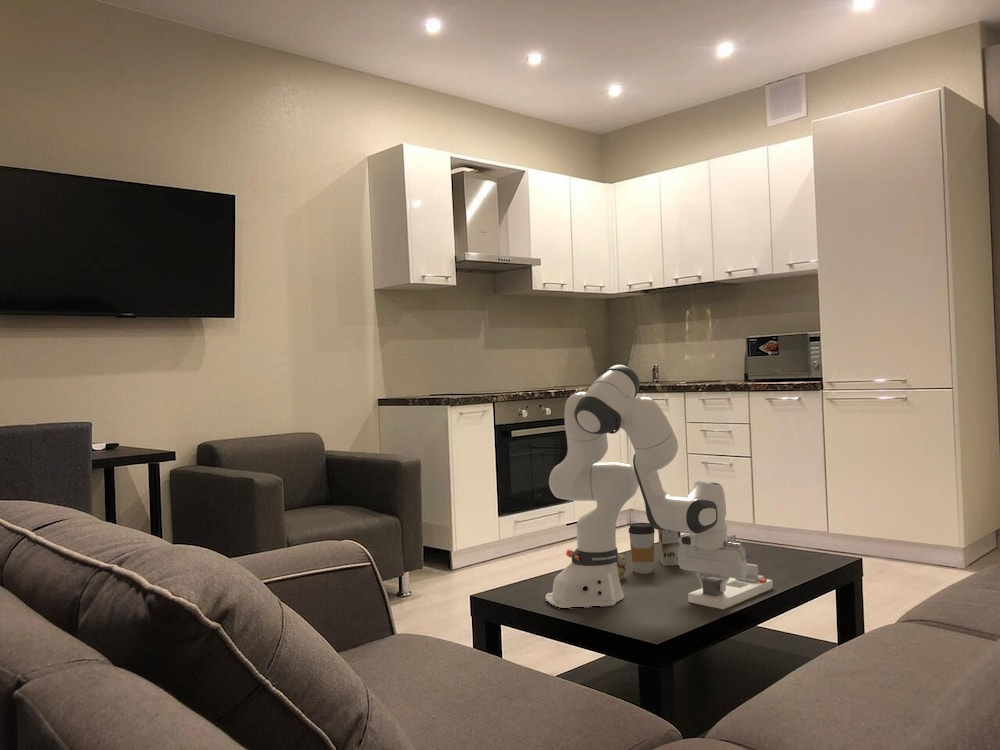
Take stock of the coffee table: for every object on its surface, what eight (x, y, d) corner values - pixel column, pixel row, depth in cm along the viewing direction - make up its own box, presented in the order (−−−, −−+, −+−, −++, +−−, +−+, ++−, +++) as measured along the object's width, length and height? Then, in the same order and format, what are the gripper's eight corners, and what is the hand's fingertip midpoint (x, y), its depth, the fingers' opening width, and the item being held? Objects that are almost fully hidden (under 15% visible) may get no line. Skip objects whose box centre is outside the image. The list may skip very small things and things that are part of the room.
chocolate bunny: (623, 581, 250) (622, 549, 250) (599, 580, 253) (597, 548, 253) (628, 577, 255) (626, 545, 255) (603, 575, 258) (602, 544, 258)
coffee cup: (656, 574, 256) (654, 527, 256) (629, 574, 257) (627, 527, 257) (656, 568, 264) (654, 522, 264) (630, 568, 266) (628, 522, 265)
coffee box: (682, 565, 266) (680, 516, 266) (663, 566, 266) (660, 517, 266) (677, 558, 275) (675, 511, 275) (658, 559, 275) (656, 512, 275)
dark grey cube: (715, 596, 221) (715, 581, 221) (703, 593, 223) (702, 579, 223) (723, 593, 223) (723, 578, 223) (711, 590, 226) (710, 576, 226)
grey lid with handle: (753, 582, 232) (752, 567, 232) (734, 579, 236) (734, 564, 236) (764, 578, 236) (763, 563, 236) (745, 574, 240) (745, 560, 240)
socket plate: (723, 609, 217) (722, 597, 217) (688, 602, 225) (688, 590, 225) (772, 588, 234) (772, 577, 234) (738, 582, 242) (738, 571, 242)
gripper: (750, 542, 218) (753, 593, 218) (686, 533, 233) (688, 581, 233) (738, 546, 214) (740, 598, 214) (673, 537, 229) (675, 586, 229)
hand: (713, 589), depth 223 cm, fingers closed on dark grey cube, 4 cm apart
